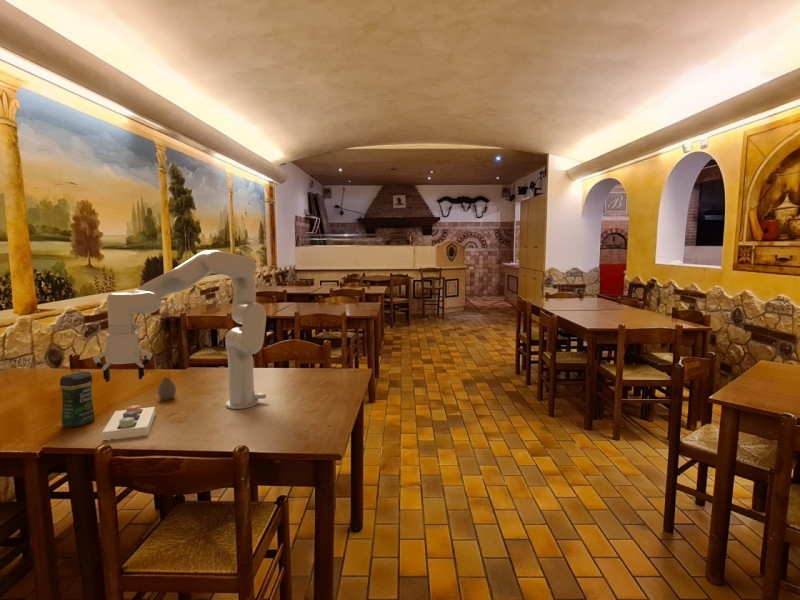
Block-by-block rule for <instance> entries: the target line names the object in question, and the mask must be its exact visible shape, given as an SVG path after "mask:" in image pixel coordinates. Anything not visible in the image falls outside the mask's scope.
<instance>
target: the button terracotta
mask: <svg viewBox="0 0 800 600" xmlns="http://www.w3.org/2000/svg"><path fill="white" fill-rule="evenodd" d="M140 408H141V405H140V404H136V405H134V404H133V405H129V406H127V407H126V410H127V412H129V411H137V413H138V414H141V410H140Z"/></svg>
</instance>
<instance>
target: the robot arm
mask: <svg viewBox="0 0 800 600" xmlns="http://www.w3.org/2000/svg"><path fill="white" fill-rule="evenodd" d="M256 271H257V264H256V261H254V259H253V258H252V257H249V256H246V255H241V254H236V253H231V252H228V251H227V252H225V251H222V250H216V249H214V250H213V249H211V250H206V249H205V250H202V251H200V252H198V253H196V254H195V255H194V256H192V257H191V258H189V259H187V260H186V261H184V262H182V263H181V264H179V265H178V266H176V267H175V268H174V267H173V269H170V270H169V271H166V272H165V273H163V274H161V275H159V276H156V277H155V278H152V279H150V280H149V281H147V282H146V283H144V284H142V285H140V286H139V287H137V288H136V289H135V290H133V291H132V292H111V293H109V294H108V295H107V300H106V302H107V322H108V323H107V324H108V333H107V334H106V337H105V344H104V345H105V346H104V351H102V352H101V353H99V354H97V355H95V356H93V358H92V360H93V362H94V363H95V364H96V366H97V367H98V368H100V369H101V370H102V371H103V373H102V376H103V380H105V383H108V382H109V381H111V371H110V370H111V369H110V368H109V367H110V366H111V365H120V364H121V365H122V364H124V365H125V364H136V365H137V366H138V371H137V372H138V373H137V374H138V380H142V379H143V377H144V376H145V367H146V365H147V364H148V363H149V362H150V360H151V359H152V357H153V353H152V352H150V351H147V350H146V349H145V350H144V349H143V348H141V347H142V346H141V341H140V335H139V332H138V330H140V329H141V327H140V325H137V324H136V322H135V321H136V320H135V314H152V313H156V312H157V311H158V310H159V309H160V308H161V306H162V298H165V297H166V296H168V295H171V294H175V293H178V292H183V291H186V290H188V289H190V288H191V287H193V286H194V285H195V284H197V283H198V282H200V281H202V280H203V279H205V278H206V277H208V276H209V275H211V274H218V275H223V276H227V277H228V278H229V279H230V281H231V283H232V285H233V297H232V298H233V299H232V307H231V319H232V320H233V321H234V322H235V323H236V324H240V325H242V326H241V327H240V326H236V327H233V328H231V329H230V330H229V331H227V333H226V334H225V339H224V341H225V349H226V354H227V366H228V370H227V371H228V390H229V391H228V393H229V397H228V400H227V401H226V402H225V407H226V408H228V409H232V410H243V409H244V410H245V409H248V408H252V407H255V406H257V405H258V404H259V399H260V400H262V399H266V398H267V394H266V393H263V392H259V393H258V392H256V391H255V379H254V357H253V355H255V354H257V353H258V352H260V350H261V349H262V348H263V345H264V341H265V333H266V327H267V325H266V324H267V312H266V309H265V307H264V306H263V305H262V304H261V303H259V302H256V299H257V283H256V280H255V278H254V275H255V274H256ZM136 331H137V332H136ZM142 355H143V356H145V357H146V358H145V359H144V360H142ZM103 357H104V360H105V363H104V362H102V361H101V359H102V358H103Z"/></svg>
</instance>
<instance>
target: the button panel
mask: <svg viewBox="0 0 800 600" xmlns="http://www.w3.org/2000/svg"><path fill="white" fill-rule="evenodd" d="M140 410H141V414H138V420H134V422H135V427H130V428H122V429H120V424H119V420H121V419H123V413H125V412H127V409H123V410H115V411H114V413H112V414H113V415H112V416H111V417H110V419H109V421H108V422H107V424H106V425H105V427H104V429H103V431H102V434H101V435H102V441H103V440H107V441H113V440H114V439H115V440H120V439H123V440H124V439H128V438H137V437H143V436H144V437H146V436H149V433H150V429H151V427H152V425H153V422H154V419H155V416H156V407H155V406H151V407H142V408H141V407H140ZM111 439H113V440H111Z"/></svg>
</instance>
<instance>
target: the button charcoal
mask: <svg viewBox="0 0 800 600" xmlns="http://www.w3.org/2000/svg"><path fill="white" fill-rule="evenodd" d="M128 417H133V418H134V420H138V419H139V417H138V413H137V411H129V412H125V413H123V418H128Z"/></svg>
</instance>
